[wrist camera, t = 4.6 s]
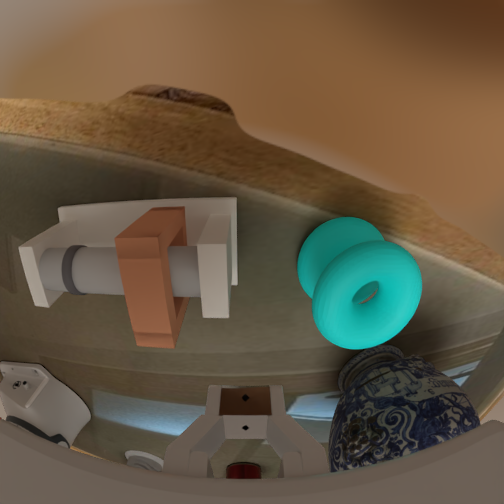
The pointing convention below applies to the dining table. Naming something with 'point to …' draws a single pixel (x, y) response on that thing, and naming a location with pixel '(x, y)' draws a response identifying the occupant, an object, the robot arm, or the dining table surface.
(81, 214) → the pipe stand
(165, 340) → the angular ring
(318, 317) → the donuts
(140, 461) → the french press
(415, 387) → the decorative vase
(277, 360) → the dining table surface
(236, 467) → the soda can
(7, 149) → the dining table surface
